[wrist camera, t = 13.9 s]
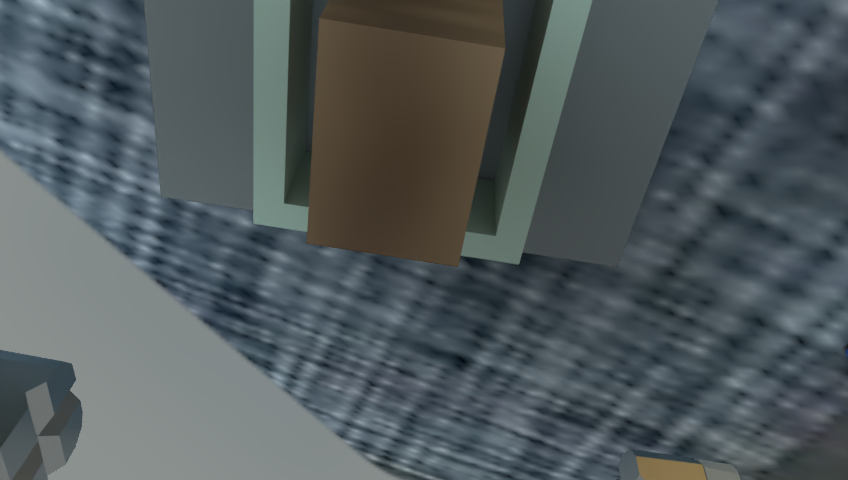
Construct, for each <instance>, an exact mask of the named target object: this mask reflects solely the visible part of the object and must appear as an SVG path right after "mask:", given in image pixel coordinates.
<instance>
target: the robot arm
mask: <svg viewBox="0 0 848 480" xmlns="http://www.w3.org/2000/svg"><path fill="white" fill-rule="evenodd" d="M75 381H76V378H75V374H74V370H73V366H72V364H71V363H67V362H63V361H57V360H52V359H46V358H41V357H35V356H30V355H24V354H19V353H14V352H8V351H3V350H0V480H48V477H47V476H48V475H49V474H51V473H52V472H54V471H56V470H57V469H59V468H60V467H62V466H64V465H65V464H66V463H67V461H68V459H69V458H70V456H71V454H72V452H73V450H74V448H75V447H76V443H77V440H78V437H79V434H80V431H81V427H82V408H81V402H80V400H79V399H78V398H77V397H76V396H75V395H74V394H73V393H72V392H71V391H70V388H71V387H72V386H73V384H74V382H75ZM618 465H619V471H620V478H618V479H617V480H740V477H739V474H738V471H737V470H736V469H735V468H734V466H733V465H731V464H724V463H718V462H711V461H705V460H695V459H694V458H689V457H682V456H675V455H668V454H661V453H654V452H647V451H640V450H633V449H629V450H628V451H626V452H625V453H624V454H623V456H622V458H621V460H620V462H619V464H618Z"/></svg>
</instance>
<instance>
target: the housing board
mask: <svg viewBox="0 0 848 480" xmlns="http://www.w3.org/2000/svg"><path fill="white" fill-rule="evenodd" d="M328 1H329V0H144V9H145V21H146V32H147V43H148V55H149V66H150V77H151V89H152V100H153V111H154V123H155V134H156V145H157V157H158V168H159V179H160V191H161V197H167V198H174V199H180V200H187V201H193V202H200V203H206V204H213V205H219V206H225V207H232V208H238V209H245V210H251V211H253V224H259V225H265V226H272V227H278V228H285V229H291V230H298V231H304V232H307V227H308V209H309V191H310V174H311V156H312V138H313V121H314V103H315V86H316V68H317V50H318V33H319V18H320V16H321V14H322V12H323V11H324V9H325V7H326V5H327V3H328ZM718 1H719V0H503V16H504V33H505V53H504V58H503V62H502V67H501V71H500V76H499V81H498V85H497V90H496V95H495V99H494V104H493V108H492V113H491V118H490V122H489V127H488V132H487V136H486V141H485V145H484V150H483V155H482V159H481V164H480V168H479V173H478V178H477V182H476V187H475V192H474V196H473V201H472V205H471V210H470V215H469V219H468V224H467V229H466V233H465V238H464V242H463V247H462V252H461V256H466V257H473V258H479V259H486V260H492V261H499V262H505V263H512V264H518V265H519V263H520V259H521V256H522V252H523V253H529V254H536V255H542V256H549V257H555V258H562V259H568V260H575V261H581V262H588V263H594V264H600V265H607V266H613V267H618V264H619V261H620V259H621V256H622V253H623V251H624V248H625V246H626V243H627V240H628V238H629V235H630V232H631V230H632V227H633V225H634V222H635V219H636V217H637V214H638V211H639V209H640V206H641V204H642V201H643V198H644V196H645V193H646V190H647V188H648V185H649V183H650V180H651V177H652V175H653V172H654V169H655V167H656V164H657V162H658V159H659V156H660V154H661V151H662V148H663V146H664V143H665V141H666V138H667V135H668V133H669V130H670V127H671V125H672V122H673V120H674V117H675V114H676V112H677V109H678V106H679V104H680V101H681V99H682V96H683V93H684V91H685V88H686V85H687V83H688V80H689V78H690V75H691V72H692V70H693V67H694V64H695V62H696V59H697V57H698V54H699V51H700V49H701V46H702V43H703V41H704V38H705V36H706V33H707V30H708V28H709V25H710V22H711V20H712V17H713V15H714V12H715V9H716V7H717V4H718Z"/></svg>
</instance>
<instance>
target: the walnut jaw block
mask: <svg viewBox="0 0 848 480" xmlns="http://www.w3.org/2000/svg"><path fill="white" fill-rule="evenodd" d="M504 53H505V33H504V16H503V0H329V1H328V3H327V5H326V7H325V9H324V11H323V12H322V14H321V16H320V18H319V33H318V50H317V68H316V86H315V103H314V121H313V138H312V156H311V174H310V191H309V209H308V227H307V244H314V245H320V246H327V247H333V248H340V249H346V250H353V251H359V252H366V253H372V254H378V255H385V256H391V257H398V258H404V259H411V260H417V261H424V262H430V263H437V264H443V265H450V266H456V267H458V266H459V261H460V256H461V252H462V247H463V242H464V238H465V233H466V229H467V224H468V219H469V215H470V210H471V205H472V201H473V196H474V192H475V187H476V182H477V178H478V173H479V168H480V164H481V159H482V155H483V150H484V145H485V141H486V136H487V132H488V127H489V122H490V118H491V113H492V108H493V104H494V99H495V95H496V90H497V85H498V81H499V76H500V71H501V67H502V62H503V58H504Z"/></svg>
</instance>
